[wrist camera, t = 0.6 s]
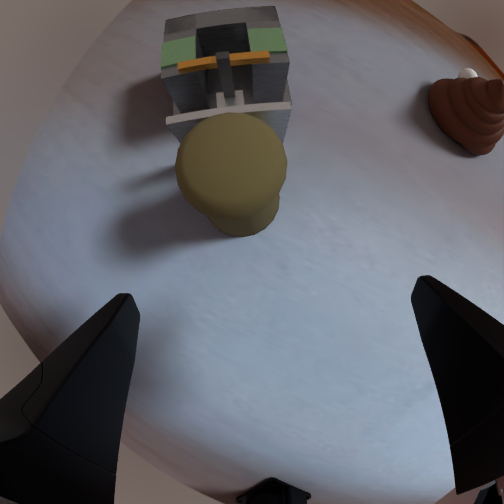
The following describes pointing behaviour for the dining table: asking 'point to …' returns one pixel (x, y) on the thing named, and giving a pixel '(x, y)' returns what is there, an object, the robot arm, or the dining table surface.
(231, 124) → the cork
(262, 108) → the plunger
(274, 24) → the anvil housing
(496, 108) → the poop emoji
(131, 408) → the dining table surface
